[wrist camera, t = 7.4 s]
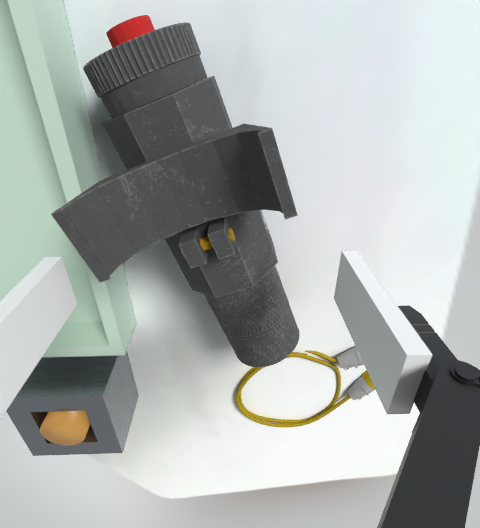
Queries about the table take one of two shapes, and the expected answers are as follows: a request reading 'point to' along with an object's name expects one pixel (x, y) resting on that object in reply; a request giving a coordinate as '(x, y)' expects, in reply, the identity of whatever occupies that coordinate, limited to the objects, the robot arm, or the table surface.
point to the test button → (65, 427)
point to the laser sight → (187, 186)
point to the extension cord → (355, 392)
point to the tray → (51, 174)
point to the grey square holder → (78, 402)
